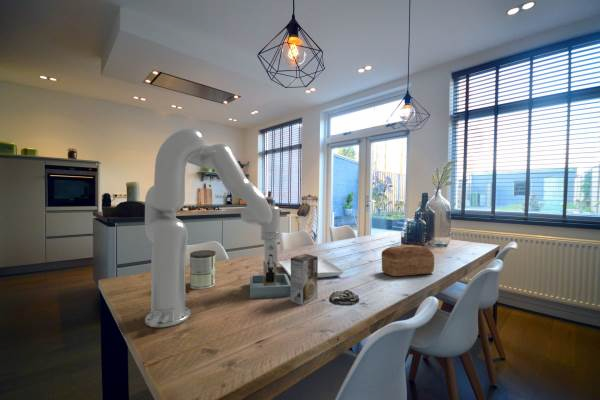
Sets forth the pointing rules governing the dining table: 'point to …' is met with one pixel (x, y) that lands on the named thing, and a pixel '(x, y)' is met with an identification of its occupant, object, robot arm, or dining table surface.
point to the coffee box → (304, 278)
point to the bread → (407, 260)
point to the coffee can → (202, 269)
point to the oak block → (265, 275)
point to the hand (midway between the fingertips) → (269, 279)
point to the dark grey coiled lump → (344, 298)
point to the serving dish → (269, 287)
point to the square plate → (323, 268)
